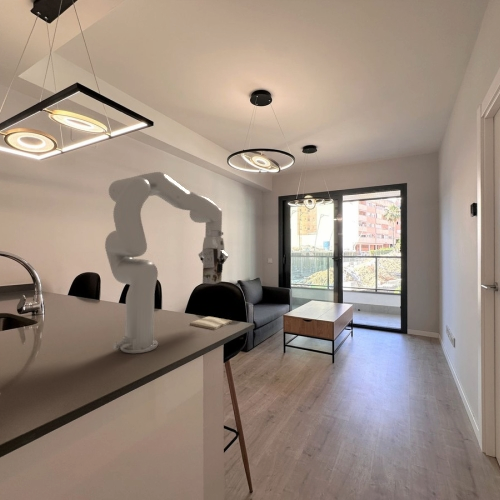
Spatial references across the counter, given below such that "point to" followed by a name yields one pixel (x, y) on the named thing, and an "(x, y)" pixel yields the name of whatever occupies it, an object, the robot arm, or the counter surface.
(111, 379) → the counter surface
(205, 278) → the coffee box
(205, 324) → the cream folded cloth
